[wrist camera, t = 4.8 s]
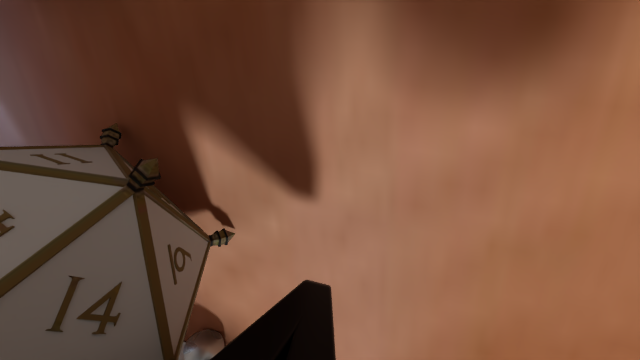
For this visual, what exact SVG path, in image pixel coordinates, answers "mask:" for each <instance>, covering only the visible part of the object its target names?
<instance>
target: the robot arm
mask: <svg viewBox="0 0 640 360" xmlns="http://www.w3.org/2000/svg"><path fill="white" fill-rule="evenodd" d="M210 360H336V358H335V342H334V327H333V311H332V296H331V287H330V286H329V285H326V284H322V283H318V282H314V281H310V280H305V281H303V282H302V283H301V284H299V285H298V286H297V287H296V288H295V289H294V290H292V291H291V292H290V293H289V294H288V295H286V296H285V297H284V298H283V299H282V300H280V301H279V302H278V303H277V304H276V305H274V306H273V307H272V308H271V309H270V310H268V311H267V312H266V313H265V314H264V315H262V316H261V317H260V318H259V319H258V320H257V321H255V322H254V323H253V324H252V325H251V326H249V327H248V328H247V329H246V330H245V331H243V332H242V333H241V334H240V335H239V336H237V337H236V338H235V339H234V340H233V341H231V342H230V343H229V344H228V345H227V346H225V347H224V348H223V349H222V350H221V351H219V352H218V353H217V354H216V355H215V356H214V357H212V358H211V359H210Z"/></svg>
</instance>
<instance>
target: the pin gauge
mask: <svg viewBox="0 0 640 360" xmlns="http://www.w3.org/2000/svg"><path fill="white" fill-rule="evenodd" d="M224 347H225V346H224V340H223V337H222V335H221V334H220V333H218V332H217V331H214V330H203V331H199V332H197V333H195V334H194V335H192V336H191V337H190V338H189V339H188V340H187V342H186V343H185V346H184V349H183V354H184V359H185V360H210V359H211V358H212V357H214V356H215V355H216V354H217V353H218V352H219V351H221V350H222V349H223V348H224Z"/></svg>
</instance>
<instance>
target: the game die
mask: <svg viewBox="0 0 640 360" xmlns="http://www.w3.org/2000/svg"><path fill="white" fill-rule="evenodd" d="M102 132H103V135H102V136H100V139H102V144H101V145H76V146H24V147H0V360H178V358H179V355H180V351H181V348H182V344H183V341H184V337H185V334H186V330H187V327H188V323H189V320H190V316H191V312H192V309H193V305H194V302H195V298H196V295H197V291H198V288H199V284H200V281H201V277H202V274H203V270H204V267H205V263H206V260H207V256H208V252H209V249H210V246H212V245H218V246H219V247H220V246H221V245H222V244H225V245H227V244H228V242H229V240H230V239H231V238H232V237H233V236H234V235H235V233H232V232H229V231H226V230H225V228H224V229H222V230H221V231H219V232H218V231H216V232H214V233H213V234H212V235H209V236H208V235H207V234H206V233H205V232H204V231H203V230H202V229H201V228H200V227H199V226H197V225H196V224H195V223H194V222H193V221H192V220H191V219H190V218H189V217H188V216H187V215H185V214H184V213H183V212H182V211H181V210H180V209H179V208H178V207H177V206H176V205H175V204H173V203H172V202H171V201H170V200H169V199H168V198H167V197H166V196H165V195H164V194H163V193H161V192H160V191H159V190H158V189H157V188H156V187H155V186H154V184H155V183H154V181H155V180H156V179H160V178H161V176H160V173H159V170H158V158H155V159H149V160H143V159H140V161H139V162H138V163H137V165H136V166H135V167H133V166H132V165H131V164H130V163H129V162H128V161H126V160H125V159H124V158H123V157H122V156H121V155H120V154H119V153H118V152H117V151H116V150H114V149H113V148H114V146H115V145H118V142H119V139H121V133H120V132H119V129H118V126H117V123H116V124H114V125H112V126H111V127H109V128H107V129H103V130H102Z"/></svg>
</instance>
